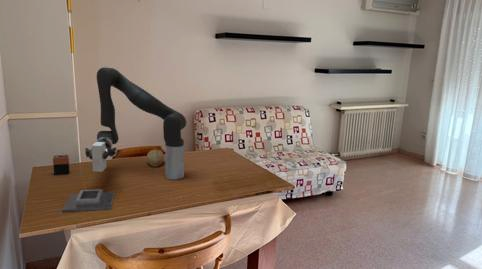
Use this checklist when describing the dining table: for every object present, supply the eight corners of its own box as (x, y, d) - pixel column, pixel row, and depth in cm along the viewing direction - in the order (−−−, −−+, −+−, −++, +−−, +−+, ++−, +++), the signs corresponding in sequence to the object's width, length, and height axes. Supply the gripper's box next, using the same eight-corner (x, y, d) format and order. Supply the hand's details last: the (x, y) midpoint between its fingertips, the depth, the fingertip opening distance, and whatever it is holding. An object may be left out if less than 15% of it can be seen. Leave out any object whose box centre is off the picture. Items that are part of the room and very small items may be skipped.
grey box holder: (114, 193, 156) (114, 186, 155) (110, 209, 141) (110, 201, 140) (70, 195, 151) (70, 188, 150) (62, 212, 136) (61, 204, 135)
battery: (69, 174, 176) (67, 155, 174) (54, 175, 173) (52, 156, 171) (69, 171, 180) (68, 153, 178) (55, 172, 177) (53, 153, 175)
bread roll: (162, 159, 207) (162, 146, 205) (165, 167, 194) (165, 153, 192) (146, 160, 204) (145, 147, 202) (148, 168, 190) (147, 154, 189)
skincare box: (96, 167, 156) (95, 141, 153) (106, 167, 156) (105, 141, 154) (92, 171, 150) (91, 145, 147) (102, 172, 151) (101, 145, 148)
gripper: (86, 138, 162) (79, 149, 146) (118, 138, 166) (114, 148, 150) (87, 154, 164) (80, 166, 148) (119, 153, 168) (115, 164, 152)
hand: (97, 157), depth 149 cm, fingers closed on skincare box, 4 cm apart
